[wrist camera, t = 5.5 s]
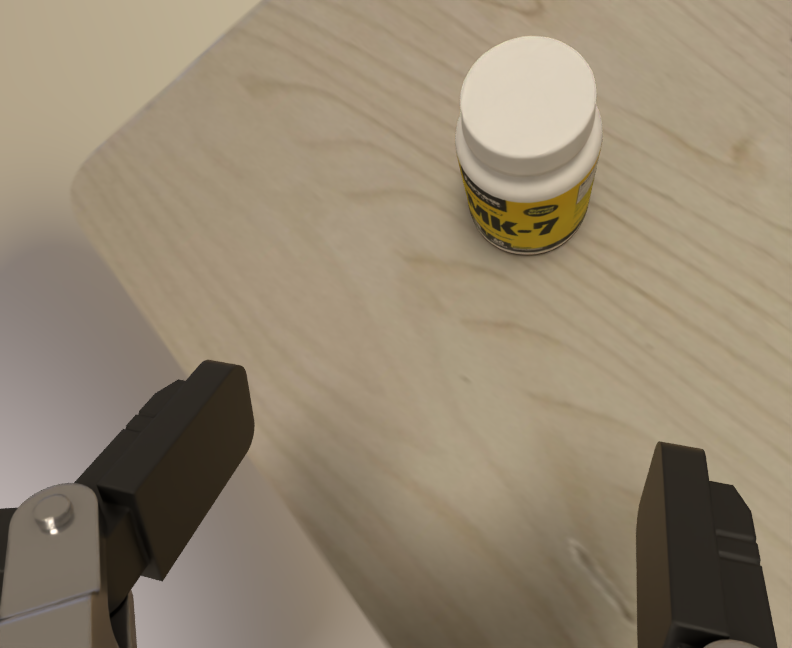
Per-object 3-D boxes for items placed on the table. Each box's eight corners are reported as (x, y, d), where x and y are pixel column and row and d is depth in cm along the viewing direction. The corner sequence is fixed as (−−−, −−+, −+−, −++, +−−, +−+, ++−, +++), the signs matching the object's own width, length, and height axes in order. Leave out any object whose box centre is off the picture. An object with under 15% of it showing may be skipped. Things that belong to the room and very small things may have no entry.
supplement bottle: (454, 238, 28) (421, 145, 20) (492, 137, 29) (476, 7, 21) (566, 273, 27) (579, 188, 19) (604, 166, 27) (633, 40, 19)
